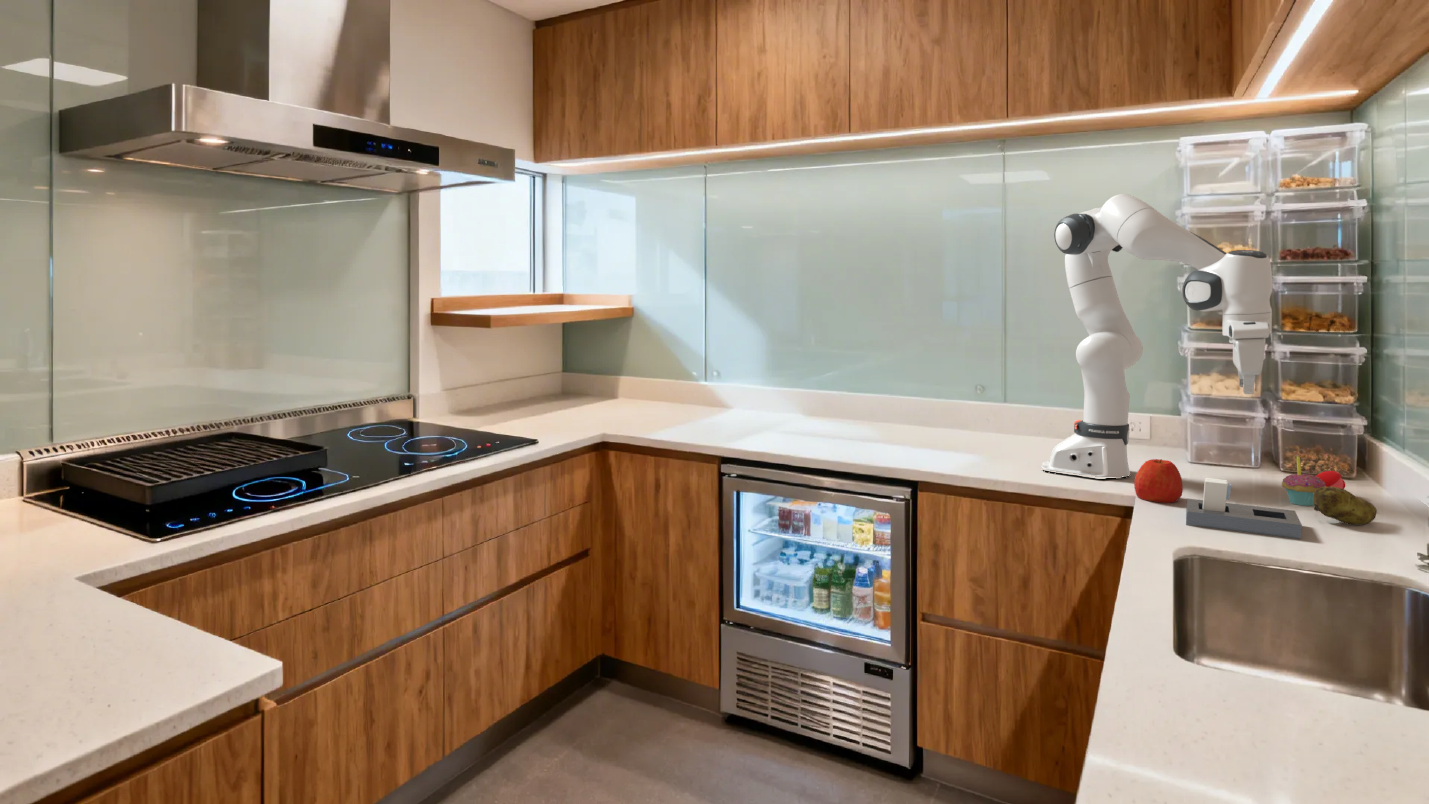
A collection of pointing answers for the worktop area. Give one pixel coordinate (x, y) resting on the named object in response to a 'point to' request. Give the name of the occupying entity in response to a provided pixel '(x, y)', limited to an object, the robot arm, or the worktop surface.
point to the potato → (1343, 506)
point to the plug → (1216, 494)
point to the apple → (1158, 481)
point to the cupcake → (1302, 486)
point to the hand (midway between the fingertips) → (1246, 390)
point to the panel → (1245, 519)
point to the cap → (1332, 479)
